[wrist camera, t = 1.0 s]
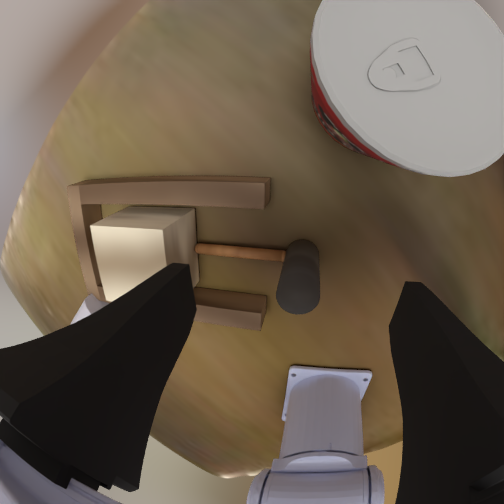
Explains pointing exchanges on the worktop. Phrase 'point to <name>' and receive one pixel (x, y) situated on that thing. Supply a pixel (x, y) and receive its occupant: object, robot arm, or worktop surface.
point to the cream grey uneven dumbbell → (190, 254)
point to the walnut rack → (172, 193)
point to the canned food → (411, 82)
